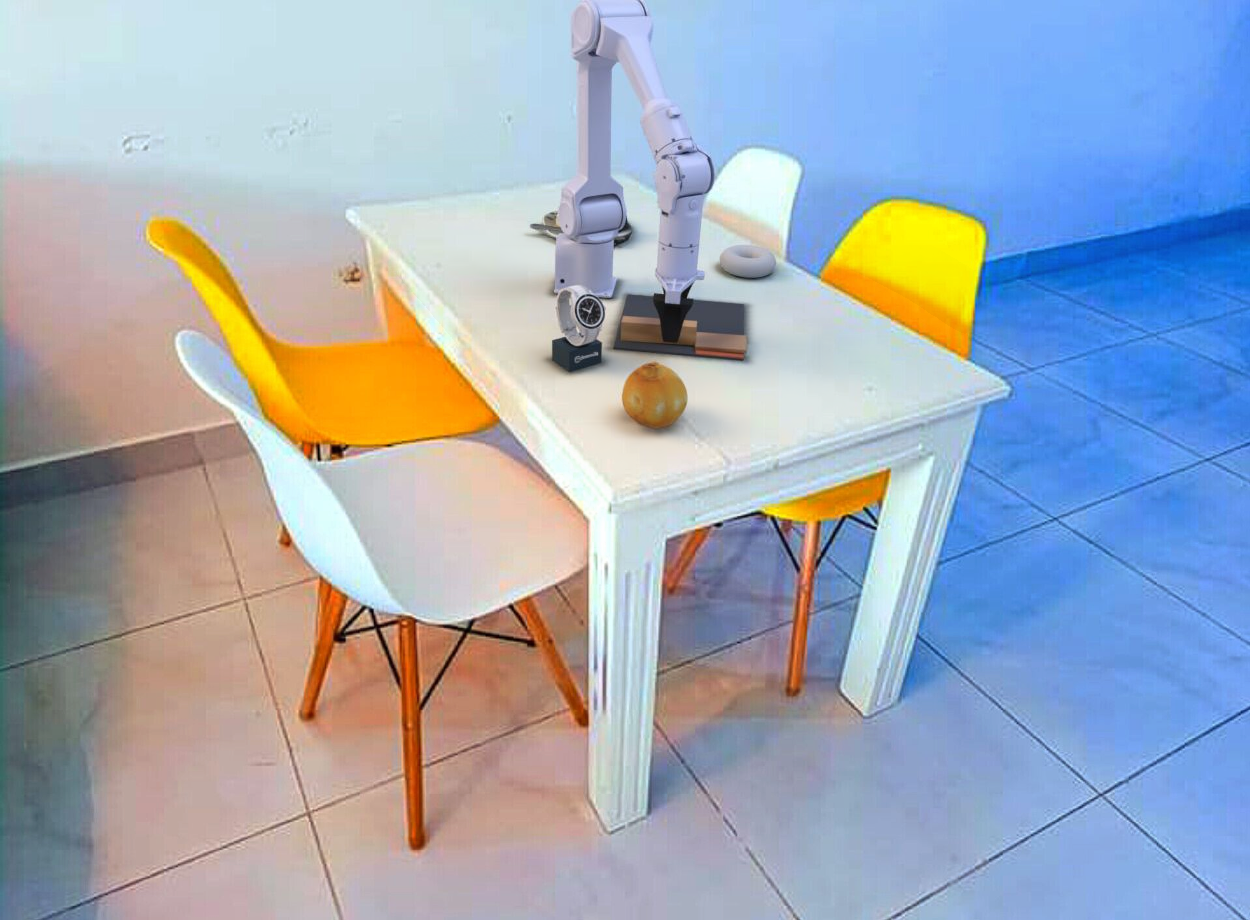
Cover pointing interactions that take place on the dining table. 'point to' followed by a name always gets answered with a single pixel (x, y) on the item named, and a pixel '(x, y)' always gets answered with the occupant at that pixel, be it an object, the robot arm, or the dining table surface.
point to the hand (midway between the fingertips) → (672, 330)
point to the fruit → (654, 395)
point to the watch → (588, 319)
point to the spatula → (681, 335)
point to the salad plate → (553, 229)
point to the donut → (747, 261)
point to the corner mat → (704, 312)
